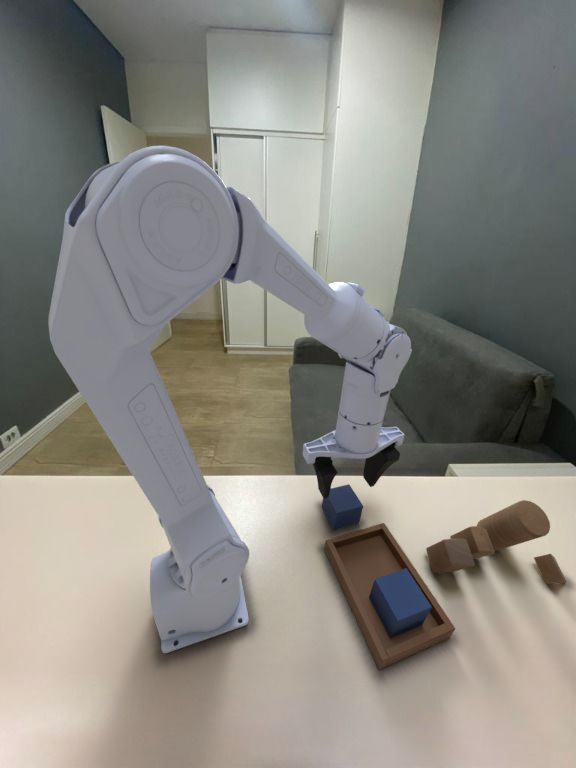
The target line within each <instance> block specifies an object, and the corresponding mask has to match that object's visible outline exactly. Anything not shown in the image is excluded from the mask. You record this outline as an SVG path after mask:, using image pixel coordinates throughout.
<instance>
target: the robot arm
mask: <svg viewBox="0 0 576 768" xmlns="http://www.w3.org/2000/svg"><path fill="white" fill-rule="evenodd" d="M84 183H85V184H84V185H83V186H82V188H81V189H80V191H79V192H78V194H77V195H76V196H75V198H74V199H73V200H72V202H71V203H70V204H69V206H68V208H67V210H66V211H65V215H64V224H63V232H62V239H61V246H60V250H59V251H60V252H59V257H58V262H57V268H56V273H55V278H54V284H53V290H52V296H51V301H50V305H49V306H50V307H49V312H48V320H47V321H48V323H47V324H48V325H47V326H48V333H49V341H50V343H51V347H52V349H53V351H54V354H55V356H56V357H57V359H58V360H59V362H60V363H61V366H62V367H63V368H64V370H65V371H66V373H67V374H68V376H69V378H70V379H71V381H72V382H73V384H74V385H75V387H76V389H77V390H78V391H79V393H80V395H81V397H82V398H83V399H84V401H85V403H86V404H87V406H88V408H89V409H90V411H91V412H92V414H93V416H94V417H95V419H96V420H97V422H98V423H99V424H100V426H101V428H102V430H103V432H104V433H105V434H106V436H107V437H108V440H110V442H111V444H112V445H113V447H114V448H115V450H116V451H117V453H118V455H119V456H120V458H121V460H122V462H124V464H125V466H126V467H127V468H128V470H129V472H130V474H131V475H132V477H133V478H134V480H135V481H136V483H137V484H138V486H139V488H140V489H141V492H142V493H143V494H144V495H145V497H146V499H147V500H148V502H149V503H150V506H152V508H153V510H154V512H155V513H156V514H157V517H158V522H159V524H160V526H161V528H162V529H163V531H164V535H165V536H166V539H167V541H168V544H169V546H170V549H169V550H167V551H165V552H163V553H161V554H159V555H156V556H154V557H153V558H151V561H150V568H149V569H150V570H149V571H150V572H149V573H150V574H149V594H150V595H149V597H150V605H151V606H150V607H151V612H152V617H153V620H154V623H155V626H156V629H157V633H158V635H159V639H160V641H161V642H160V649H161V652H162V653H163V654H168V653H171V652H174V651H177V650H179V649H182V648H185V647H188V646H191V645H193V644H194V645H195V644H197V643H201V642H203V641H205V640H208V639H211V638H214V637H216V636H220V635H222V634H225V633H228V632H231V631H234V630H237V629H239V628H242V627H245V626H247V625H248V624H249V621H250V618H249V613H248V608H247V602H246V601H247V600H246V597H245V592H244V587H243V581H242V578H241V577H242V576H241V575H242V574H243V572H244V571H245V569H246V566H247V564H248V561H249V558H250V549H249V547H248V546H247V544H246V542H244V541H243V540H242V539H241V536H240V535H239V534H238V532H237V531H236V529H235V527H234V526H233V524H232V522H231V521H230V519H229V518H228V515H227V514H226V512H225V511H224V509H223V508H222V505H221V504H220V503H219V501H218V499H217V497H216V494H215V492H214V489H213V488H212V487H211V486H210V485H208V484H207V481H206V480H205V477H204V475H203V472H202V471H201V467H200V466H199V463H198V461H197V459H196V457H195V453H194V451H193V449H192V447H191V445H190V442H189V440H188V437H187V435H186V432H185V431H184V428H183V426H182V423H181V421H180V419H179V417H178V414H177V412H176V410H175V407H174V405H173V403H172V402H173V401H172V400H171V398H170V395H169V393H168V391H167V389H166V386H165V384H164V382H163V380H162V377H161V374H160V372H159V369H158V368H157V365H156V363H155V361H154V358H153V355H152V354H151V349H152V347H153V345H154V343H156V341H157V339H158V337H159V336H160V335H161V333H162V332H163V330H164V329H165V327H166V326H167V324H168V323H170V321H173V319H174V318H176V317H177V316H178V315H180V314H181V313H182V312H183V311H185V309H187V308H188V307H189V306H190V305H192V304H193V303H194V302H196V301H197V300H198V299H199V298H201V297H202V296H203V295H204V294H206V293H208V292H209V290H211V289H212V288H213V287H214V286H215V285H216V284H218V282H219V281H221V279H223V280H224V281H227V282H229V283H232V284H235V285H236V284H237V285H238V284H242V283H246V282H248V281H250V282H252V283H253V284H255V285H256V286H258V287H260V288H261V289H262V290H265V292H268V293H269V294H271V295H272V296H274V297H276V298H277V299H278V300H280V301H282V302H284V303H285V304H287V305H288V306H290V307H292V308H293V309H294V310H295V311H297V312H299V313H301V314H302V315H303V321H304V327H305V330H306V332H307V334H308V335H309V336H310V337H312V338H313V339H315V340H317V342H319V343H321V344H323V345H325V346H326V347H327V348H329V349H331V350H333V352H335V353H337V355H338V357H339V358H340V359H344V360H346V361H345V367H344V373H343V379H342V387H341V393H340V400H339V406H338V412H337V418H336V425H335V429H333V430H332V431H330V432H329V433H326V434H324V435H323V436H320V437H318V438H316V439H314V440H313V441H310V442H304V443H303V445H302V456H303V458H304V460H305V463H306V464H307V465H312V466H313V469H314V471H315V475H316V480H317V489H318V491H319V493H320V494H321V497H322V499H323V498H328V497H329V494H330V489H331V488H332V484H333V481H334V479H335V477H336V476H337V475H338V470H337V469H336V467H335V466H334V464H333V459H332V458H338V459H339V458H340V459H356V460H357V459H358V460H363V459H364V460H365V462H364V467H363V472H362V473H363V474H362V475H363V476H362V477H363V479H364V481H365V482H366V483H367V485H368V487H370V488H372V487H375V485H376V484H377V482H378V481H379V479H380V478H381V477H382V476H383V474H384V473H385V472H386V470H388V469H389V468H390V467H391V466H392V465H393V464H395V463H397V462H398V461H399V459H400V457H401V453H400V451H399V450H398V449H397V448H396V447H400V446H403V443H404V439H405V437H406V436H405V433H404V432H403V431H402V430H401V429H400V428H399V427H398V426H389V427H387V426H386V427H383V423H384V419H385V415H386V411H387V408H388V407H387V406H388V403H389V399H390V395H391V390H392V389H394V388H395V387H396V385H397V384H398V383H399V380H400V379H399V378H400V375H401V373H402V371H403V370H404V368H405V367H406V365H407V364H408V362H409V359H410V358H411V355H412V352H413V349H412V341H411V338H410V337H409V336H408V333H407V331H406V330H405V329H404V328H403V327H401V326H397V325H394V324H391V323H388V321H387V320H386V318H385V316H386V314H385V312H384V311H383V310H382V309H379V308H377V307H374V306H372V305H371V304H370V303H369V302H368V301H367V300H366V299H365V298H364V297H363V296H364V295H365V292H366V291H365V289H364V288H363V287H362V286H361V285H360V284H357V283H353V282H342V281H336V282H331V283H328V282H327V281H326V280H325V279H324V278H323V277H322V276H321V275H320V274H319V273H318V272H317V271H316V270H315V269H314V268H313V267H312V266H311V265H310V264H309V263H308V262H307V261H306V260H305V259H304V258H303V257H302V256H301V255H300V254H299V253H298V252H297V251H296V250H295V249H294V248H293V247H292V245H290V244H289V242H288V241H286V239H284V238H283V236H281V234H279V232H278V231H277V230H276V229H275V228H273V226H272V225H271V224H269V223H268V221H267V220H266V219H265V218H264V217H263V215H262V213H261V212H260V210H259V209H258V208H257V206H256V204H255V203H254V201H253V200H252V199H251V198H250V197H249V196H247V195H245V194H244V193H243V192H241V191H240V190H239V189H237V188H235V187H234V186H226V184H225V183H224V181H223V179H222V178H221V177H220V176H219V174H218V173H217V172H216V171H215V170H214V169H213V168H212V167H211V166H210V165H209V164H208V163H207V162H205V161H204V160H203V159H201V158H200V157H198V156H197V155H195V154H193V153H191V152H189V151H187V150H186V149H183V148H179V147H176V146H169V145H150V146H147V147H142V148H140V149H138V150H136V151H133V152H131V153H129V154H128V155H127V156H126V157H125V158H124V159H122V160H121V161H115V162H111V163H108V164H105V165H103V166H101V167H99V168H98V169H97V170H95V171H94V172H93V173H92V174H91V176H90V177H89V178H88V179H87V181H86V182H84ZM239 621H241V622H239ZM176 643H177V644H176ZM175 644H176V645H175Z"/></svg>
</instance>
